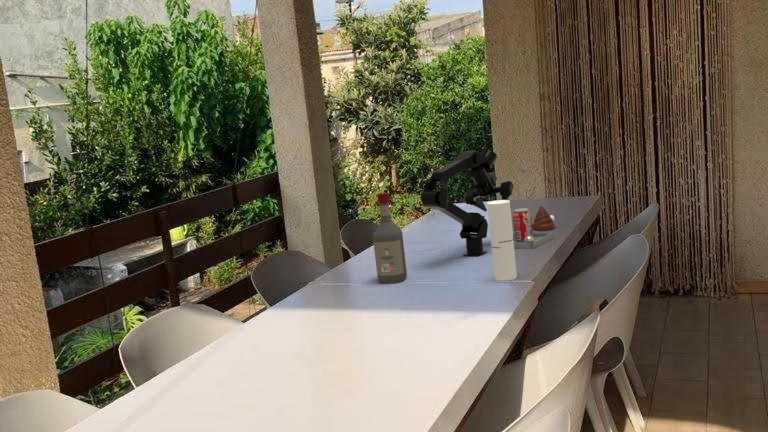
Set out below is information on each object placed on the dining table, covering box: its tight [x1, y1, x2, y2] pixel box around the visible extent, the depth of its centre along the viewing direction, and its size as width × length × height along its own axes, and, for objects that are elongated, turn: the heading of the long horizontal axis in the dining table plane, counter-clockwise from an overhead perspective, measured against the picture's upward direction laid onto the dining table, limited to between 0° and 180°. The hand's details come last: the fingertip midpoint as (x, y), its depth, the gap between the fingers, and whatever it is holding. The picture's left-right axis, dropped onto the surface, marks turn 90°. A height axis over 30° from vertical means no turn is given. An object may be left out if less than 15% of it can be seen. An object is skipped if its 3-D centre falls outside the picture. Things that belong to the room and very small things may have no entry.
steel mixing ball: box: [524, 235, 534, 243], centre depth 318 cm, size 4×4×4 cm
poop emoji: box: [532, 205, 556, 232], centre depth 347 cm, size 10×8×9 cm
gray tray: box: [513, 232, 555, 250], centre depth 325 cm, size 18×16×2 cm
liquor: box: [372, 192, 408, 285], centre depth 289 cm, size 9×9×30 cm
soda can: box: [512, 207, 534, 242], centre depth 327 cm, size 7×7×12 cm
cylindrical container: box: [487, 199, 518, 282], centre depth 274 cm, size 7×7×25 cm
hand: (497, 208), depth 325 cm, fingers open, 9 cm apart
